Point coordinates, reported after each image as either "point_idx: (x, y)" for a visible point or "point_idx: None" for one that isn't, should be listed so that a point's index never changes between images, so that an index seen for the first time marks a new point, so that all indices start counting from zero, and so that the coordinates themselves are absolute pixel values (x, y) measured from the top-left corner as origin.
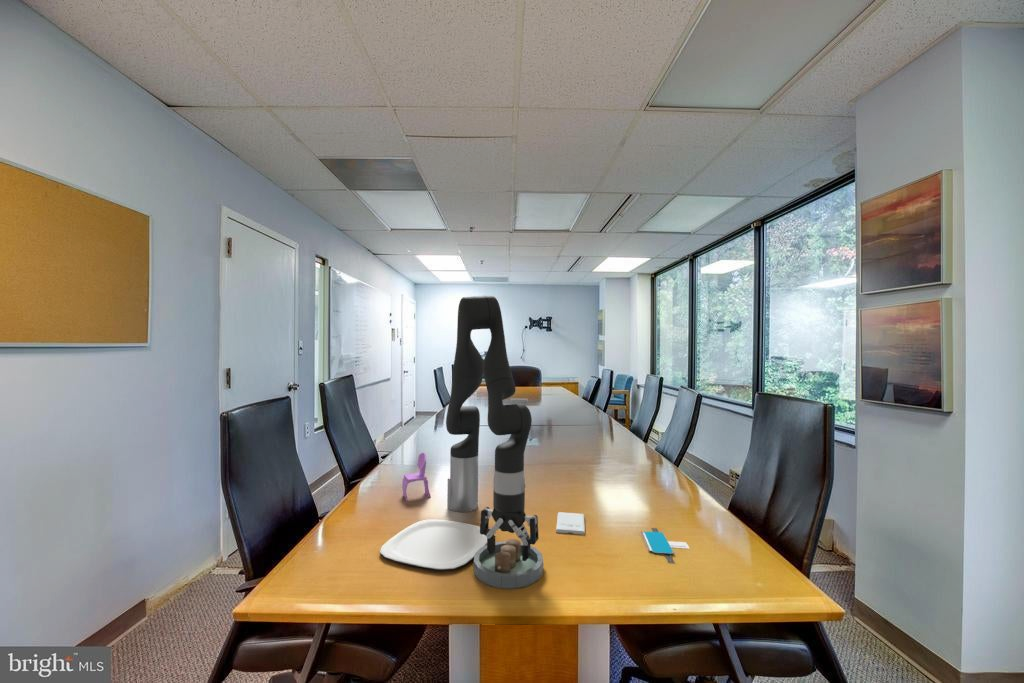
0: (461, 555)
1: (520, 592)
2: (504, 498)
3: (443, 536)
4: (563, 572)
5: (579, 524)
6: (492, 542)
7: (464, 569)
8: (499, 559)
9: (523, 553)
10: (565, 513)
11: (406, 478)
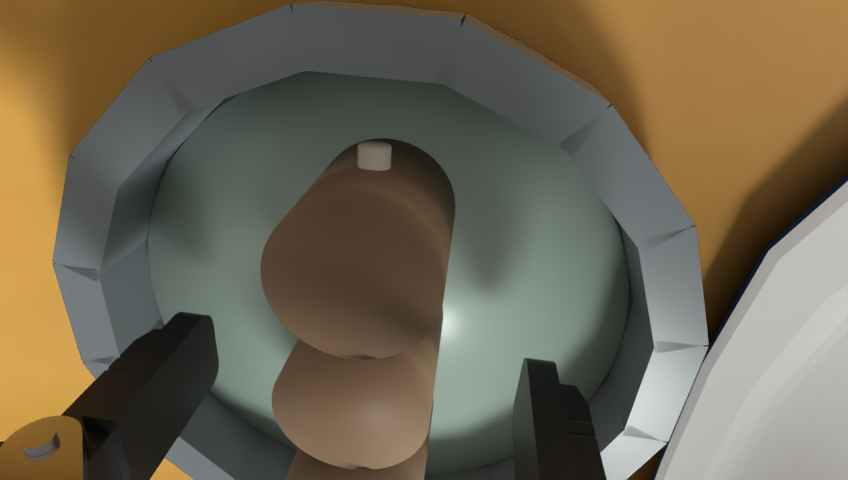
0: (820, 380)
1: (161, 5)
2: None
3: None
4: (35, 336)
5: None
6: (531, 458)
7: (755, 210)
8: (357, 198)
9: (154, 354)
10: None
11: None
